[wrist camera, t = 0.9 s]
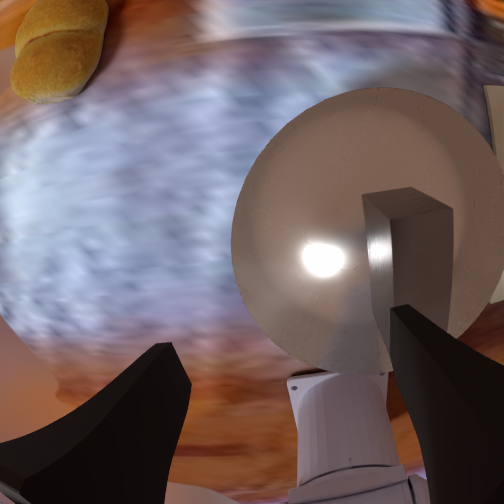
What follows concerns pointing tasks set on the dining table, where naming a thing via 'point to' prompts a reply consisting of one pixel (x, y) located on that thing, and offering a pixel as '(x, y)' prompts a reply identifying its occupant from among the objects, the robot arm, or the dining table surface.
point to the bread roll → (58, 49)
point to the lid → (368, 226)
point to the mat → (496, 149)
